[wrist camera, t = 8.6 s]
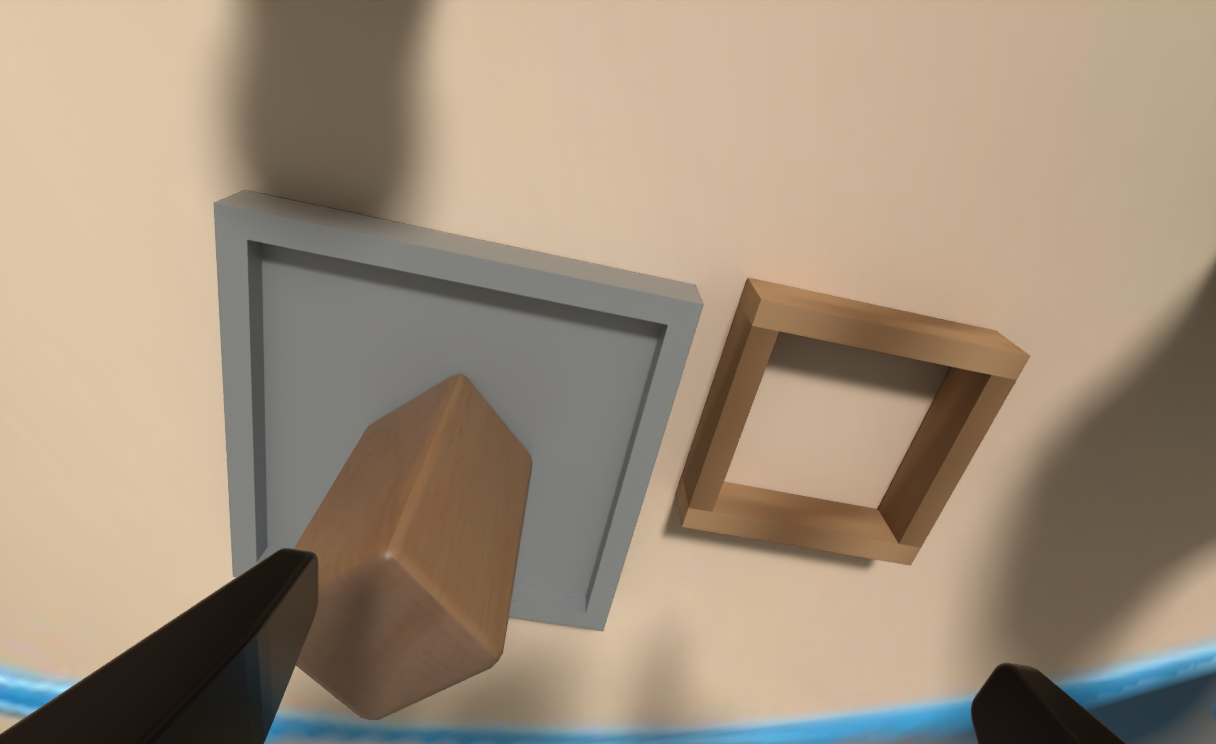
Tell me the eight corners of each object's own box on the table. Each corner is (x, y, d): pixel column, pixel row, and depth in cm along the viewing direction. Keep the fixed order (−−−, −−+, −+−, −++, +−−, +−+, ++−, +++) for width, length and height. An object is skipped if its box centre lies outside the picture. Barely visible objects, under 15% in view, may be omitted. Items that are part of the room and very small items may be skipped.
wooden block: (362, 425, 20) (236, 629, 13) (463, 364, 20) (385, 549, 12) (442, 509, 22) (366, 733, 15) (538, 457, 21) (507, 669, 14)
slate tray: (695, 285, 19) (703, 304, 18) (602, 597, 25) (603, 631, 24) (244, 190, 18) (213, 202, 17) (254, 544, 24) (232, 576, 22)
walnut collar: (995, 331, 20) (1030, 355, 19) (889, 530, 24) (910, 565, 22) (747, 277, 19) (761, 298, 18) (676, 492, 23) (681, 526, 21)
